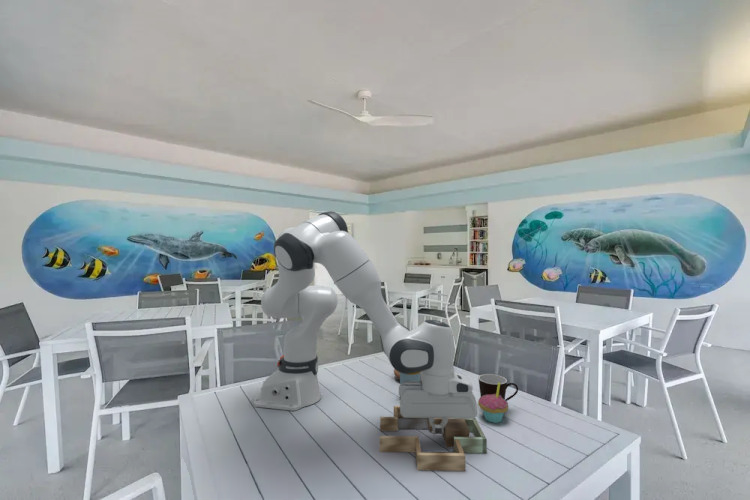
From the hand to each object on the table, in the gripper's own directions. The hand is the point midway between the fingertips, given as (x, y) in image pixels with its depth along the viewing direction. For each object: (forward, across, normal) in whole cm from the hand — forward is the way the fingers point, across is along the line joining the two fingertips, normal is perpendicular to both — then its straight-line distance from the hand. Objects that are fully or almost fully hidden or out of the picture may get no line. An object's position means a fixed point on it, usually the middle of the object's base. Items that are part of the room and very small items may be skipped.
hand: (437, 433), depth 91 cm
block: (+2, +5, 0) cm, 5 cm away
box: (+2, -2, 0) cm, 3 cm away
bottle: (+2, -6, +25) cm, 26 cm away
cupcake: (+2, +18, +12) cm, 22 cm away
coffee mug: (+2, +21, +18) cm, 28 cm away
